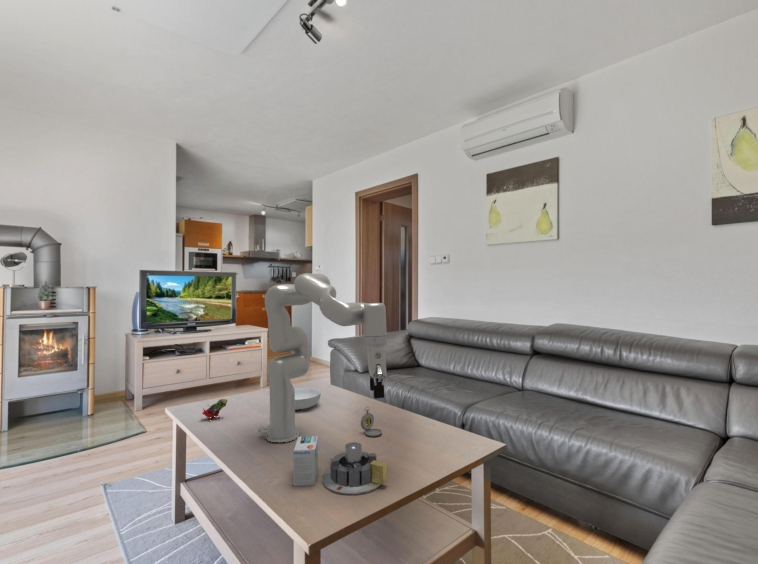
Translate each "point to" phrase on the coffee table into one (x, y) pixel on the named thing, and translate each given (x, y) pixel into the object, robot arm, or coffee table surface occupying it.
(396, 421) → the coffee table surface
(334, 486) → the spindle plate
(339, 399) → the coffee table surface
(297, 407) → the serving bowl
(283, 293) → the robot arm
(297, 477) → the light bulb box
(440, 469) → the coffee table surface
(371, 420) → the pocket watch
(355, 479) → the castellated metal disc
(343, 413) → the coffee table surface
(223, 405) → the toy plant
